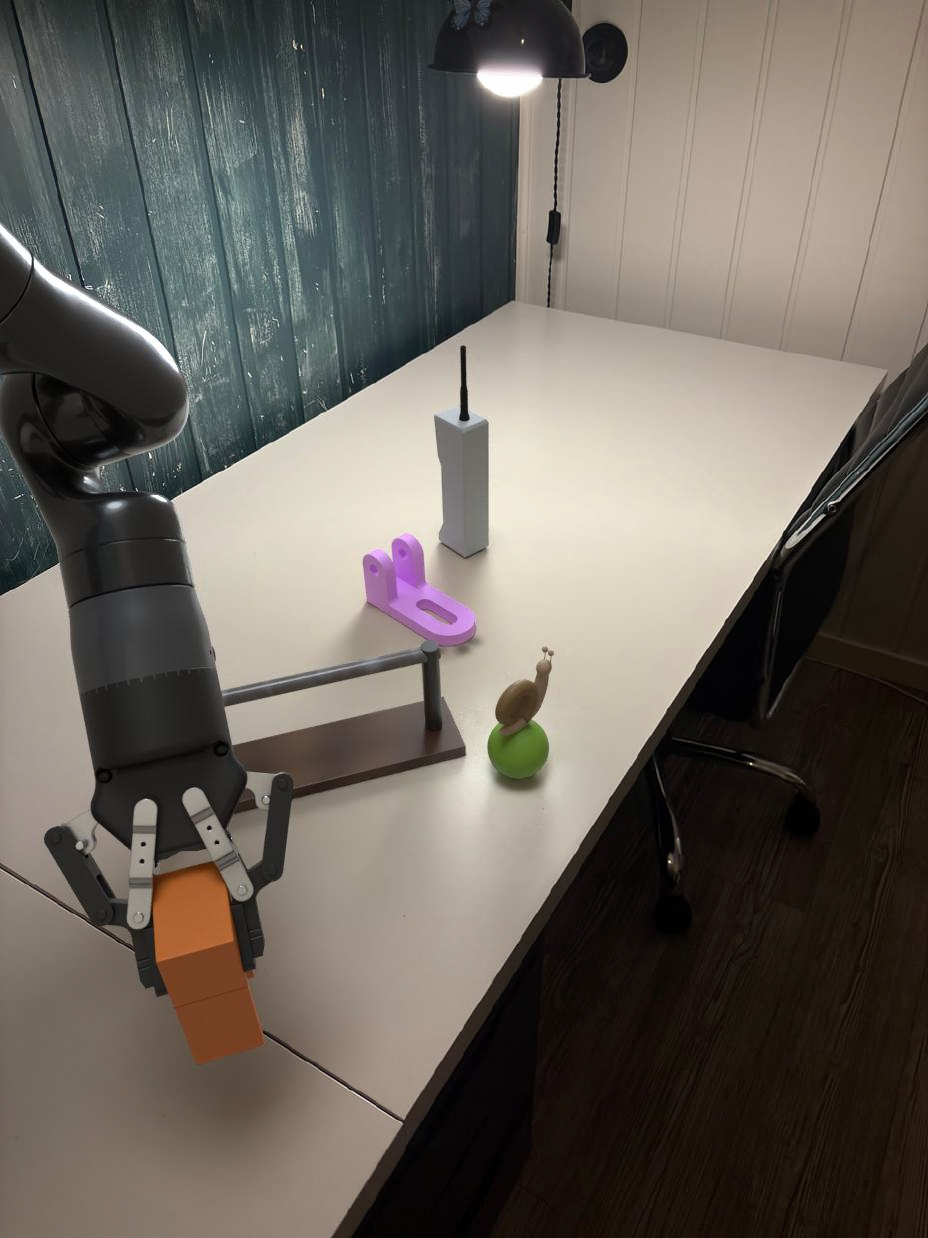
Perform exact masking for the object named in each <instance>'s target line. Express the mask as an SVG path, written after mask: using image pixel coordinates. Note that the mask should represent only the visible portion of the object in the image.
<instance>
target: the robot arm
mask: <svg viewBox="0 0 928 1238" xmlns="http://www.w3.org/2000/svg"><path fill="white" fill-rule="evenodd" d="M0 376H4V377H3V379H2V380H1V382H0V432H1V433H0V434H1V435H2V438H3V440H4V442H5V444H6V447H7V449H8V451H9V452H10V455H11V457H12V458H13V460H14V462H15V464H16V466H17V468H18V470H19V472H20V473H21V475H22V477H23V479H24V481H25V483H26V485H27V487H28V489H29V491H30V493H31V495H32V497H33V499H34V502H35V503H36V505H37V507H38V510H39V512H40V514H41V516H42V518H43V520H44V522H45V524H46V526H47V528H48V530H49V533H50V535H51V537H52V539H53V541H54V545H55V548H56V555H57V559H58V564H59V571H60V575H61V580H62V586H63V591H64V597H65V601H66V606H67V610H68V611H67V612H68V618H69V643H70V652H71V659H72V665H73V670H74V675H75V680H76V685H77V691H78V697H79V701H80V706H81V712H82V717H83V721H84V722H83V723H84V727H85V732H86V738H87V743H88V749H89V752H90V753H89V754H90V758H91V764H92V770H93V774H94V791H93V794H92V797H91V800H90V805H89V807H90V809H88V810H86V811H84V812H83V813H81V814H79V815H77V816H76V817H74V818H72V819H71V820H69V821H68V822H66V823H61V824H58V825H56V826H53V827H51V828H49V829H48V830H46V832H45V833H44V835H43V842H44V845H45V846H46V848H47V850H48V851H49V853H50V855H51V857H52V859H53V860H54V861H55V863H56V866H57V867H58V868H59V870H60V872H61V873H62V876H63V877H64V878H65V880H66V882H67V884H68V886H69V887H70V888H71V891H72V892H73V893H74V895H75V897H76V898H77V901H78V902H79V904H80V905H81V907H82V909H83V911H84V912H85V914H86V915H87V917H88V919H89V921H90V922H91V924H92V925H94V926H96V927H105V926H110V927H111V926H112V927H113V926H114V927H122V928H124V929H126V930H127V931H128V932H129V933H130V936H131V941H132V946H133V952H134V956H135V962H136V968H137V973H138V978H139V982H140V983H141V985H142V986H143V987H144V989H145V990H147V989H150V988H153V989H154V993H155V997H156V998H160V997H163V996H166V995H169V994H168V991H167V989H166V986H165V984H164V981H163V979H162V976H161V974H160V971H159V969H158V966H157V964H156V957H155V941H154V925H153V908H152V900H153V888H154V882H155V880H156V878H157V875H159V874H160V871H161V870H160V869H161V861H163V860H167V859H170V858H171V857H173V856H175V855H176V854H178V853H180V852H200V851H202V850H207V851H208V854H209V856H210V857H211V859H212V861H214V863H215V865H216V866H217V868H218V869H219V871H220V873H221V875H222V877H223V879H224V881H225V883H226V884H227V886H228V888H229V890H230V892H231V896H232V902H231V912H232V917H233V922H234V927H235V932H236V937H237V942H238V947H239V952H240V957H241V962H242V967H243V971H244V973H245V972H248V971H252V970H253V971H255V970H257V958H261V957H263V956H264V952H265V948H266V947H265V946H266V945H265V944H266V943H265V941H266V940H265V936H264V930H263V925H262V921H261V916H260V912H259V911H260V910H259V907H258V902H257V897H258V894H259V893H260V891H261V890H263V889H264V888H265V887H267V886H268V885H269V884H271V883H273V882H276V881H278V880H280V879H281V878H282V876H283V874H284V869H285V860H286V852H287V851H286V850H287V845H288V844H287V843H288V834H289V827H290V826H289V825H290V817H291V811H292V801H293V798H292V793H293V784H294V783H293V779H292V777H291V776H290V775H289V774H288V773H285V772H280V773H278V774H268V773H256V772H247V770H246V768H245V766H244V765H243V764H242V763H241V762H240V761H239V759H238V758H237V757H236V755H235V753H234V750H233V746H232V745H233V742H232V737H231V732H230V727H229V723H228V717H227V713H226V712H227V711H226V707H224V703H223V698H222V693H221V690H222V688H221V684H220V679H219V675H218V674H219V673H218V669H217V664H216V662H217V656H216V650H215V647H214V646H213V644H212V640H211V635H210V631H209V626H208V623H207V620H206V617H205V614H204V611H203V608H202V606H201V602H200V600H199V596H198V594H197V593H198V592H197V590H196V584H195V579H194V574H193V569H192V564H191V560H190V555H189V549H188V545H187V540H186V535H185V532H184V531H185V530H184V527H183V522H182V519H181V516H180V513H179V510H178V508H177V507H176V505H175V504H174V503H173V502H172V500H171V499H169V498H168V497H167V496H165V495H162V494H160V493H157V492H152V491H146V490H117V491H116V490H115V491H114V490H113V491H108V489H107V487H106V486H105V484H104V483H103V480H102V477H101V472H100V467H104V466H106V465H110V464H112V463H117V462H119V461H122V460H125V459H128V458H131V457H134V456H137V455H141V454H144V453H148V452H150V451H153V450H157V449H159V448H161V447H164V446H166V445H167V444H170V443H171V442H172V441H174V440H176V438H178V436H179V435H180V434H181V433H182V431H183V430H184V428H185V427H186V424H187V422H188V420H189V419H188V418H189V414H190V406H191V403H190V392H189V388H188V384H187V381H186V378H185V376H184V373H183V371H182V369H181V367H180V365H179V364H178V362H177V360H176V359H175V357H174V356H173V355H172V354H171V353H170V351H169V350H168V348H167V347H166V346H165V345H164V344H163V343H162V342H161V340H159V339H158V338H157V337H156V336H155V335H154V334H153V333H152V332H151V331H150V330H149V329H147V328H146V327H145V326H143V324H141V323H139V322H138V321H136V320H135V319H133V318H132V317H131V316H129V315H128V314H126V313H124V312H123V311H121V310H120V309H118V308H116V307H115V306H113V305H112V304H110V303H108V302H107V301H105V300H104V299H102V298H101V297H99V296H97V295H95V294H94V293H92V292H91V291H89V290H87V289H86V288H84V287H83V286H81V285H79V284H78V283H77V282H75V281H74V280H72V279H70V278H69V277H67V276H65V275H64V274H61V273H59V272H58V271H56V270H54V269H53V268H51V267H50V266H48V265H46V264H45V263H44V262H43V261H42V260H41V259H40V258H39V257H38V256H37V255H36V254H35V253H34V252H33V250H32V249H31V248H30V247H28V246H27V244H26V243H25V242H24V241H23V240H22V239H21V238H20V237H19V236H18V235H17V234H16V233H15V232H14V231H13V230H12V229H11V227H9V226H8V225H7V223H5V222H4V221H3V219H2V218H0ZM245 788H248V789H250V790H251V791H253V793H254V794H255V801H256V805H257V806H258V807H257V808H258V809H260V810H262V811H267V817H266V818H267V819H266V826H265V834H264V840H263V841H264V843H263V849H262V857H261V860H260V861H258V862H257V863H255V864H254V865H252V866H251V867H249V868H248V866H247V864H246V862H245V860H244V859H243V856H242V854H241V851H240V850H239V847H238V846H237V843H236V841H235V840H234V837H233V836H232V834H231V831H230V830H229V828H228V827H229V825H230V823H231V820H232V818H233V816H234V811H235V809H236V807H237V805H238V802H239V800H240V798H241V796H242V794H243V791H244V789H245ZM98 825H100V826H101V827H102V828H103V829H104V830H106V831H107V832H108V833H109V834H111V835H112V836H113V837H114V838H115V839H116V840H117V841H119V842H120V843H121V844H122V845H123V846H124V847H125V848H127V849H128V850H129V851H130V861H129V870H128V871H129V872H128V885H129V886H128V898H119V897H117V896H116V894H115V892H114V890H113V889H112V887H111V885H110V883H109V882H108V880H107V878H106V877H105V875H104V874H103V872H102V871H101V869H100V866H99V865H98V864H97V862H96V860H95V859H94V857H93V855H92V854H91V853H92V852H94V851H95V849H96V847H97V845H98V840H97V839H98V838H97V836H96V828H97V827H98Z"/></svg>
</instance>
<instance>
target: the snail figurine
mask: <svg viewBox="0 0 928 1238" xmlns="http://www.w3.org/2000/svg"><path fill="white" fill-rule="evenodd" d="M541 651H542V653H544V655H543V656H544V657H543V659H540V660H539V661H538V662H537V663H536V666H535V670H536V676H535V678H534V681H532V680H529V679H527V678H526V679H525V678H524V679H519V680H516V681H514V682H513V683H511V684H510V685H509V686H507V687H506V688H505V690H503V692H502V694H501V695H500V696H499V698H498V700H497V703H496V705H495V710H494V716H495V719H496V721H497V724H496V725H495V726H494V727H493V728H492V729H491V732H490V734H489V735H488V739H487V744H486V749H487V756H488V759H489V761H490V763H491V765H492V766H493V767H494V769H496V771H497V772H499V773H500V774H502V775H503V776H505V777H508V778H511V779H516V780H517V779H526V778H530V777H532V776H534V775H536V774H537V773H538V772H539V771H540V770H541V769H542V768H543V767H544V766H545V764H546V762H547V760H548V757H549V754H550V741H549V738H548V735H547V733H546V731H545V730H544V728H543V726H541V725H540V724H539V723H538V722H537V721H536V720H534V719H533V718H534V717H535V716H536V715H537V714H538V712H539V711H540V709H541V708H542V705H543V703H544V700H545V698H546V697H545V696H546V694H547V690H548V686H549V680H550V673H551V671H552V669H553V665H552V657H553V656H555V652H554V650H553V649H549V648H548V647H547V646H546V645H544V646H542V647H541ZM546 653H547V655H548V656H549V657H550V659H546Z"/></svg>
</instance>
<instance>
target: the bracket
mask: <svg viewBox="0 0 928 1238" xmlns="http://www.w3.org/2000/svg"><path fill="white" fill-rule="evenodd" d="M391 557H392V558H391ZM391 557H390V556H389V554H388V553H387V552H386V551H384V550H383V549H380V548H375V549H374V550H372V551H370V552H368V553H367V554H365V555H363V557H362V569H363V570H362V571H363V578H364V588H365V598H366V602H368V603H369V604H371V605H372V606H373V607H376V608H377V609H378V610H380V611H381V612H383V613H385V614H386V615H388V616H390V617H391V618H392V619H394V620H396V621H398V622H399V623H401V624H402V625H404V626H405V627H407V628H409V629H410V630H412V631H413V632H415V633H417V634H418V635H420V636H421V637H423V638H425V640H427V641H429V640H431V641H435V642H437V643H438V645H439V646H444V647H453V646H459V645H462V644H465V643H466V642H468V641H470V640H471V639H472V638H473V636H474V635H475V633H476V616H475V613H474V611H473V610H472V609H470V607H468V606H466V605H465V604H463V603H461V602H460V601H457V600H456V599H454V598H453V597H451V596H449V595H447V594H445V592H442V591H440V590H439V589H437V588H436V587H433V586H432V585H430V584H428V582H427V580H426V567H425V554H424V549H423V546H422V544H421V543H420V541H419V540H418V539H417V538H416V537H415V535H413V534H411V533H408V532H407V533H403V534H401V535H399V536H397V537H396V538H394V539H392V542H391ZM424 610H429V611H432V612H433V613H434V614H436V615H438V616H439V617H441V618H443V619H445V620H446V621H448V622H450V624H449V623H444V622H442V621H440V620H439V619H437V618H435V617H434V616H433V615H431V614H429V613H428V612H425V611H424Z"/></svg>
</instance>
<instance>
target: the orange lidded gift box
mask: <svg viewBox="0 0 928 1238" xmlns="http://www.w3.org/2000/svg"><path fill="white" fill-rule="evenodd" d="M231 902H232V896H231V892H230V890H229V888H228V886H227V884H226V883H225V881H224V879H223V877H222V875H221V873H220V871H219V869H218V868H217V866H216V865H215V863H214V861H213V860H210V861H206V862H202V863H198V864H194V865H191V866H187V867H182V868H179V869H175V870H174V869H173V870H171V871H167V872H163V873H159V875H157V878H156V880H155V882H154V888H153V900H152V908H153V925H154V941H155V957H156V964H157V966H158V969H159V971H160V974H161V976H162V979H163V981H164V984H165V986H166V989H167V991H168V994H167V995H168V997H169V999H170V1001H171V1004H172V1006H173V1009H174V1011H175V1012H174V1013H175V1014H176V1017H177V1019H178V1022H179V1024H180V1028H181V1030H182V1033H183V1035H184V1037H185V1039H186V1042H187V1044H188V1047H189V1050H190V1052H191V1054H192V1057H193V1059H194V1063H195V1064H196V1066H199V1065H204V1064H206V1063H210V1062H213V1061H216V1060H219V1059H220V1060H221V1059H222V1058H226V1057H229V1056H233V1055H235V1054H239V1053H242V1052H246V1051H249V1050H252V1049H255V1048H259V1047H262V1046H265V1044H266V1043H265V1037H264V1031H263V1026H262V1024H261V1020H260V1016H259V1012H258V1009H257V1006H256V1003H255V999H254V996H253V993H252V988H251V986H250V982H249V979H252V978H255V972H254V971H255V970H252V971H248V972H245V973H244V971H243V967H242V962H241V957H240V952H239V947H238V942H237V937H236V932H235V927H234V922H233V917H232V912H231Z"/></svg>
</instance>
